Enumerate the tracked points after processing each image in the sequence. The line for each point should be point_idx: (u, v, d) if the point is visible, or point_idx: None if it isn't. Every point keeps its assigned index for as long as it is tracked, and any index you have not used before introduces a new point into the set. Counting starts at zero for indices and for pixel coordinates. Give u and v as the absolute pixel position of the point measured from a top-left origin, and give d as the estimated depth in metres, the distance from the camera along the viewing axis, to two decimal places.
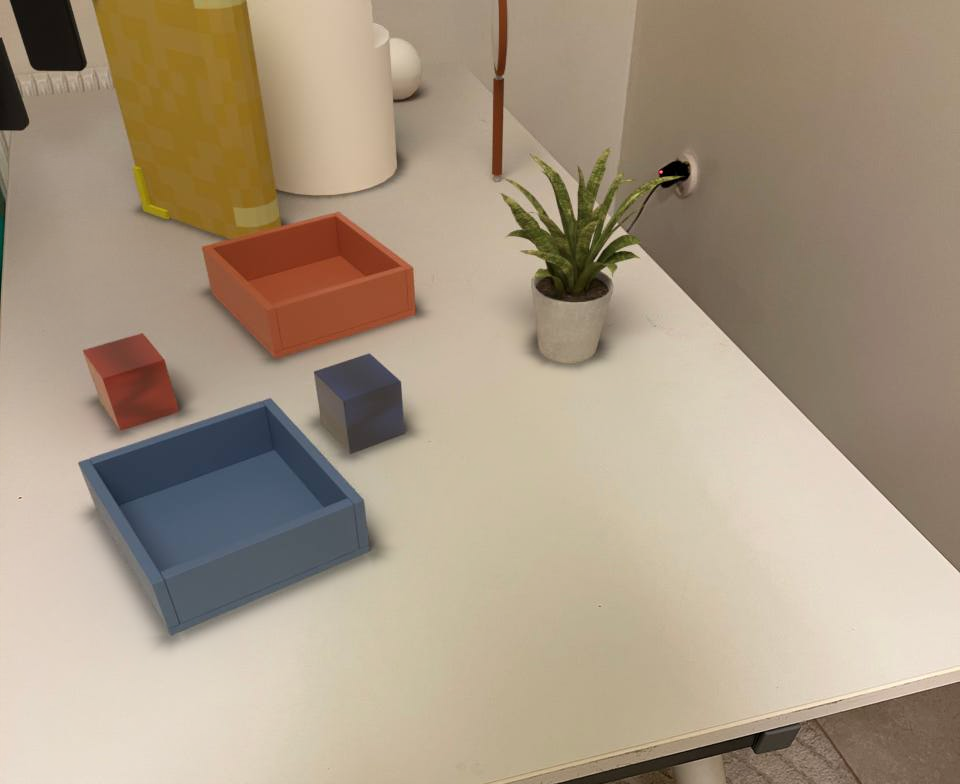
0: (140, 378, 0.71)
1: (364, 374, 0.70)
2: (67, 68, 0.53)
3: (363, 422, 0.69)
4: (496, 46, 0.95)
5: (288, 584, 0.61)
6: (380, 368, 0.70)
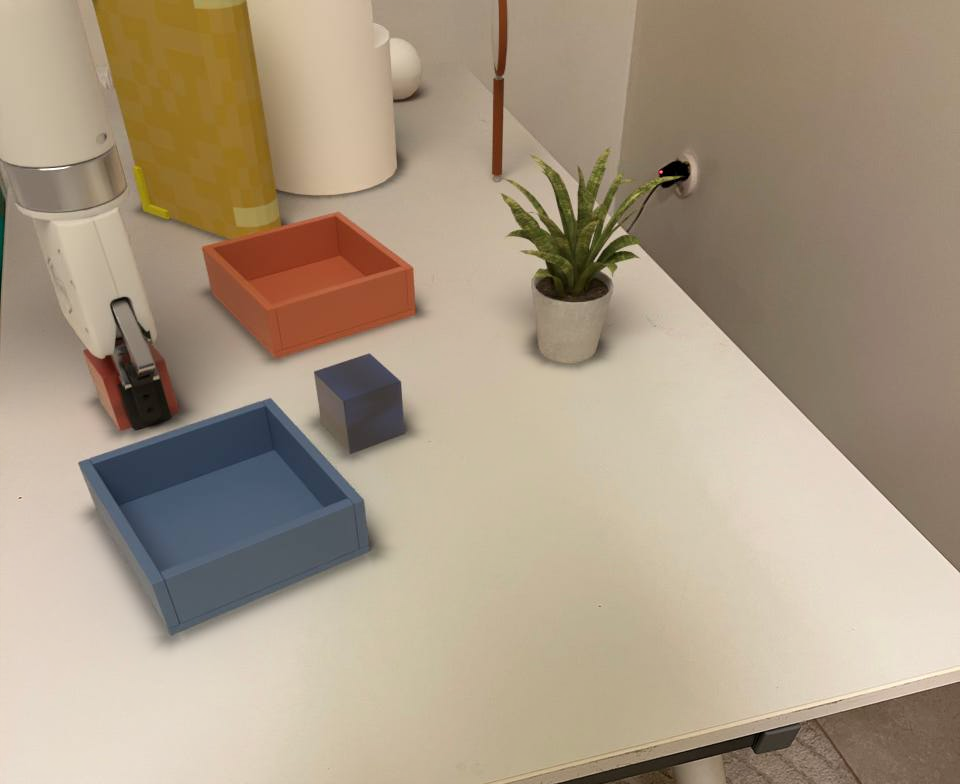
0: None
1: (364, 374, 0.70)
2: None
3: (363, 422, 0.69)
4: (496, 46, 0.95)
5: (288, 584, 0.61)
6: (380, 368, 0.70)
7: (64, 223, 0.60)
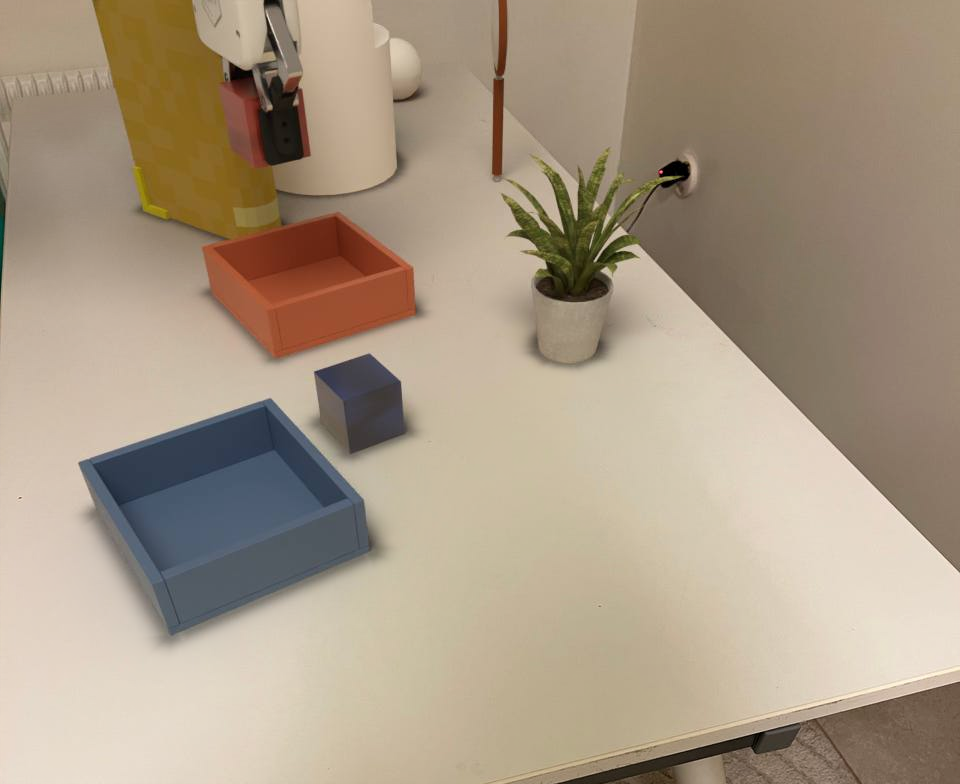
0: None
1: (364, 374, 0.70)
2: None
3: (363, 422, 0.69)
4: (496, 46, 0.95)
5: (288, 584, 0.61)
6: (380, 368, 0.70)
7: None
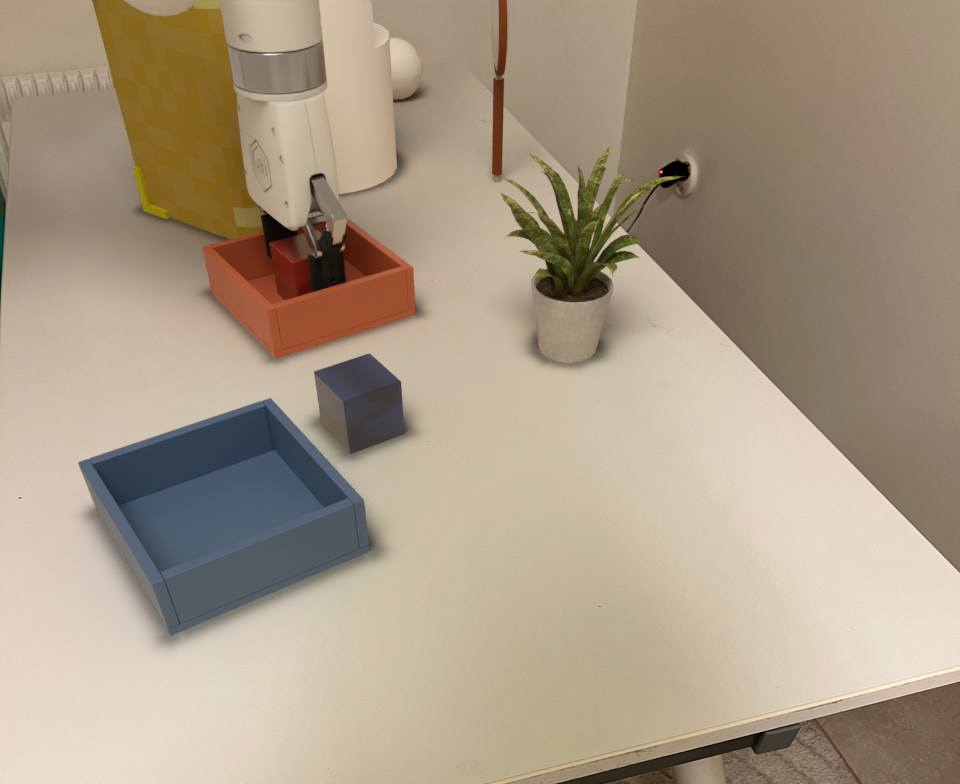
0: None
1: (364, 374, 0.70)
2: None
3: (363, 422, 0.69)
4: (496, 46, 0.95)
5: (288, 584, 0.61)
6: (380, 368, 0.70)
7: (281, 103, 0.70)
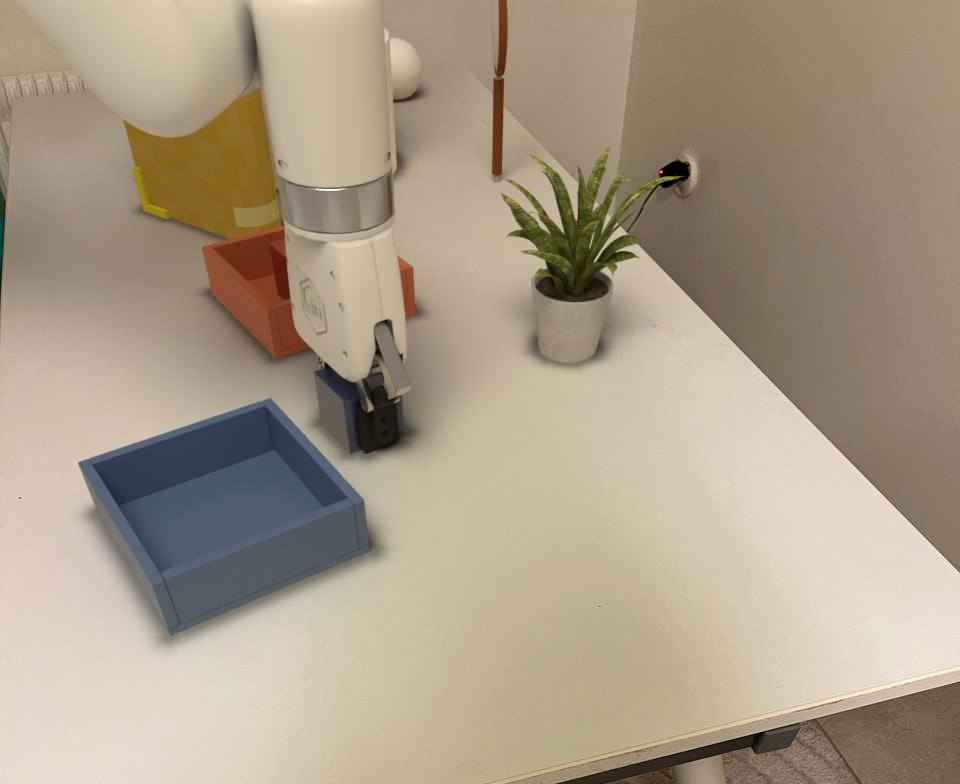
0: None
1: None
2: None
3: None
4: (496, 46, 0.95)
5: (288, 584, 0.61)
6: None
7: (343, 244, 0.58)
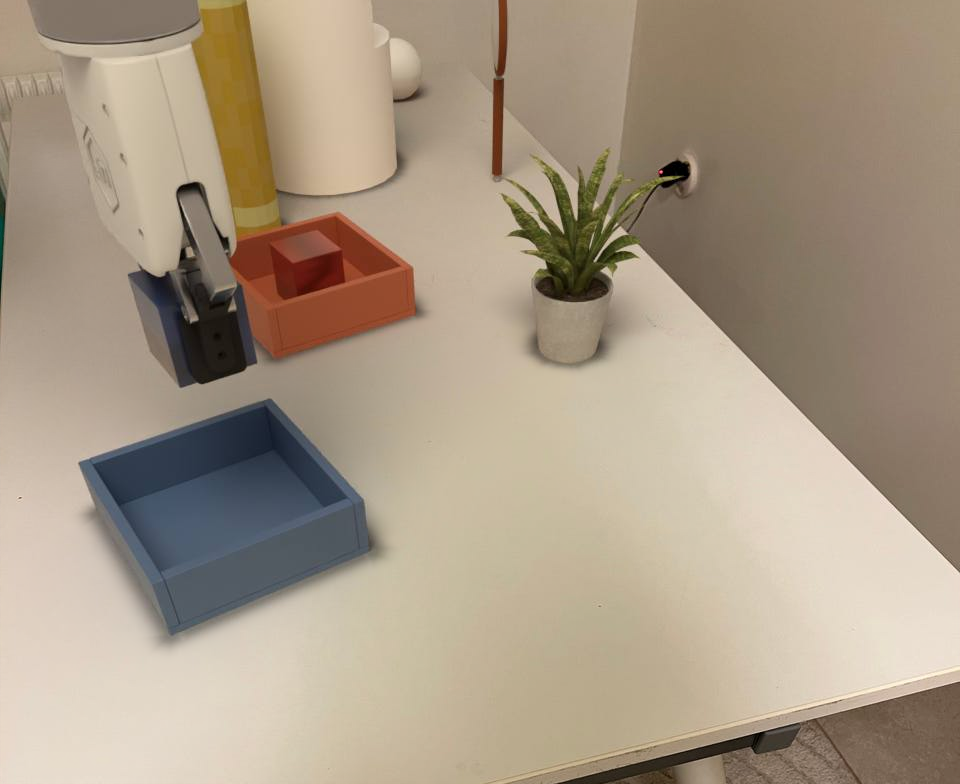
0: (321, 265, 0.82)
1: (195, 276, 0.52)
2: None
3: None
4: (496, 46, 0.95)
5: (288, 584, 0.61)
6: None
7: (113, 61, 0.40)
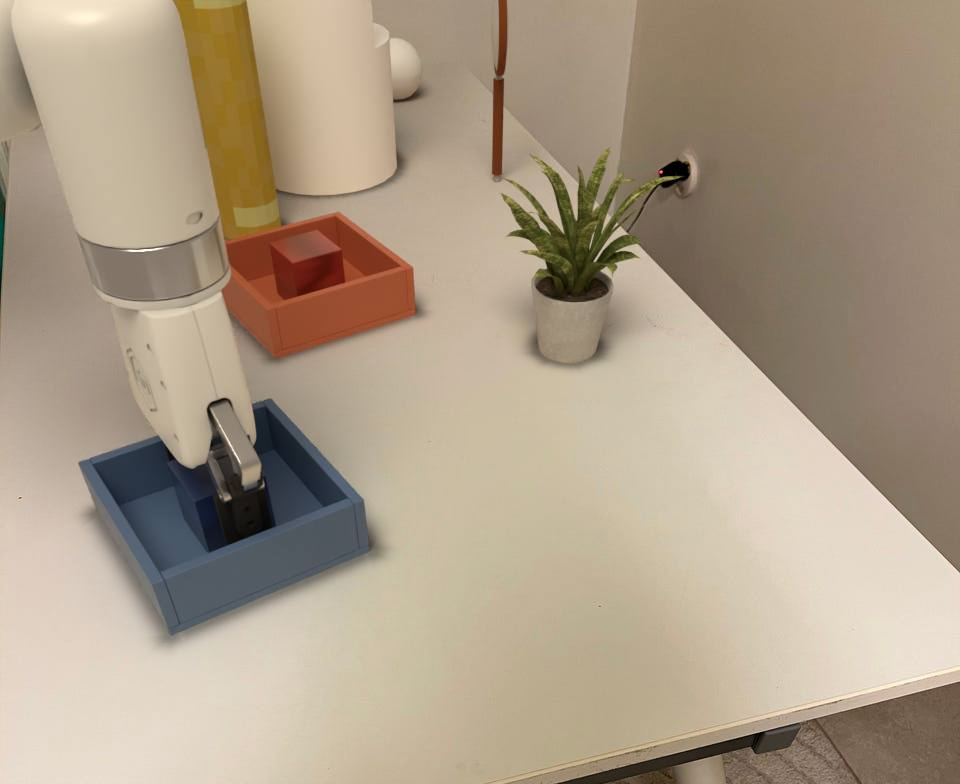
0: (321, 265, 0.82)
1: (224, 465, 0.60)
2: None
3: None
4: (496, 46, 0.95)
5: (288, 584, 0.61)
6: None
7: (157, 314, 0.48)
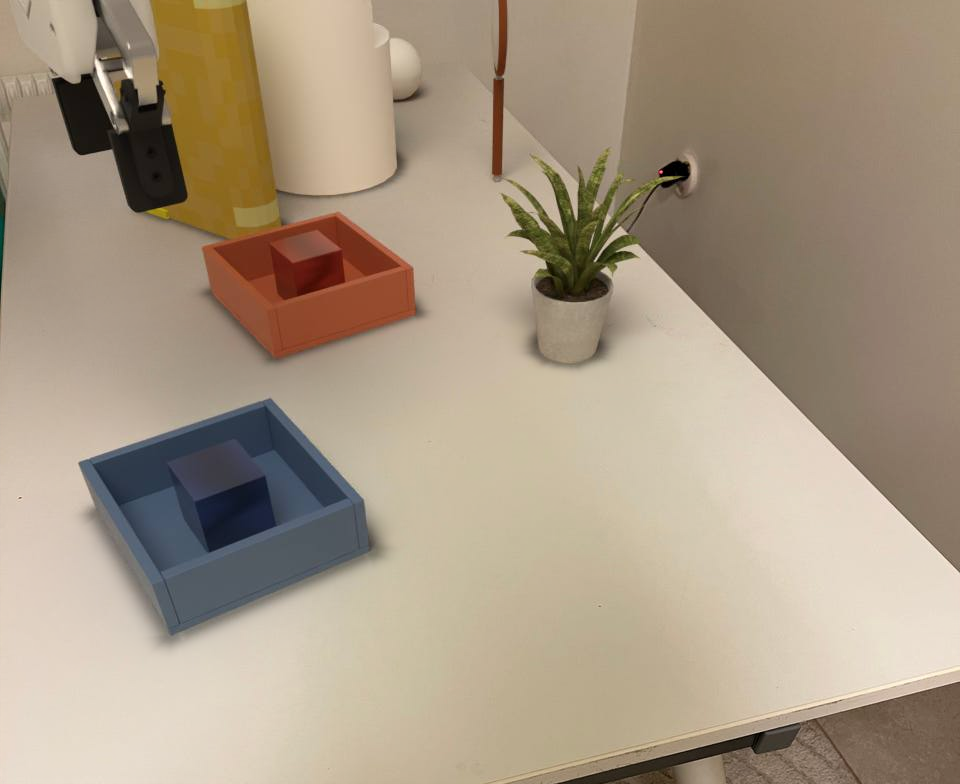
0: (321, 265, 0.82)
1: (224, 465, 0.60)
2: None
3: (223, 522, 0.60)
4: (496, 46, 0.95)
5: (288, 584, 0.61)
6: (244, 458, 0.61)
7: None
